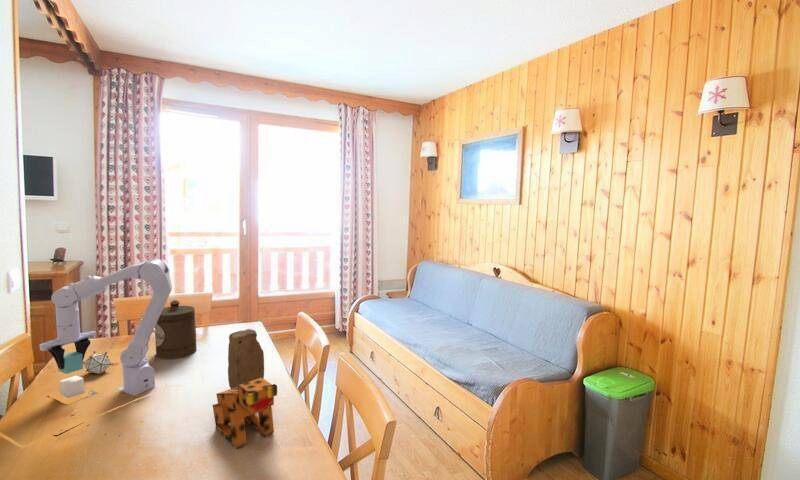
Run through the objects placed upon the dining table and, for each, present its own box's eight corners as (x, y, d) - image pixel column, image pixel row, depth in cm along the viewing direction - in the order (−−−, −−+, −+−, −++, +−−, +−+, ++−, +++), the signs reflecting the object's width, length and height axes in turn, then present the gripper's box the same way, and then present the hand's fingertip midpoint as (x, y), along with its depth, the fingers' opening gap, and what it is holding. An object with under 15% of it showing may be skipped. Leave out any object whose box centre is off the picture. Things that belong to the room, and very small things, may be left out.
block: (234, 397, 133) (233, 337, 131) (226, 388, 139) (225, 331, 137) (266, 387, 140) (266, 331, 138) (257, 379, 146) (257, 325, 144)
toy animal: (247, 412, 124) (247, 362, 122) (282, 440, 110) (281, 384, 108) (212, 425, 116) (211, 372, 115) (244, 457, 102) (243, 397, 101)
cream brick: (84, 393, 132) (83, 378, 132) (68, 399, 128) (67, 383, 128) (77, 389, 134) (76, 375, 134) (60, 395, 130) (59, 380, 130)
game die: (96, 386, 146) (79, 372, 139) (88, 372, 151) (72, 357, 144) (121, 369, 151) (107, 354, 144) (113, 355, 155) (98, 341, 148)
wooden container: (158, 348, 173) (156, 298, 171) (197, 344, 179) (195, 295, 177) (153, 361, 160) (151, 307, 158) (195, 356, 166) (194, 303, 164)
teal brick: (83, 368, 131) (82, 353, 131) (66, 374, 127) (65, 358, 127) (75, 365, 133) (74, 351, 133) (58, 370, 129) (57, 355, 129)
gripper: (87, 316, 137) (89, 355, 138) (33, 328, 124) (36, 371, 125) (98, 319, 134) (101, 359, 135) (45, 332, 121) (48, 376, 122)
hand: (70, 365), depth 130 cm, fingers closed on teal brick, 5 cm apart
